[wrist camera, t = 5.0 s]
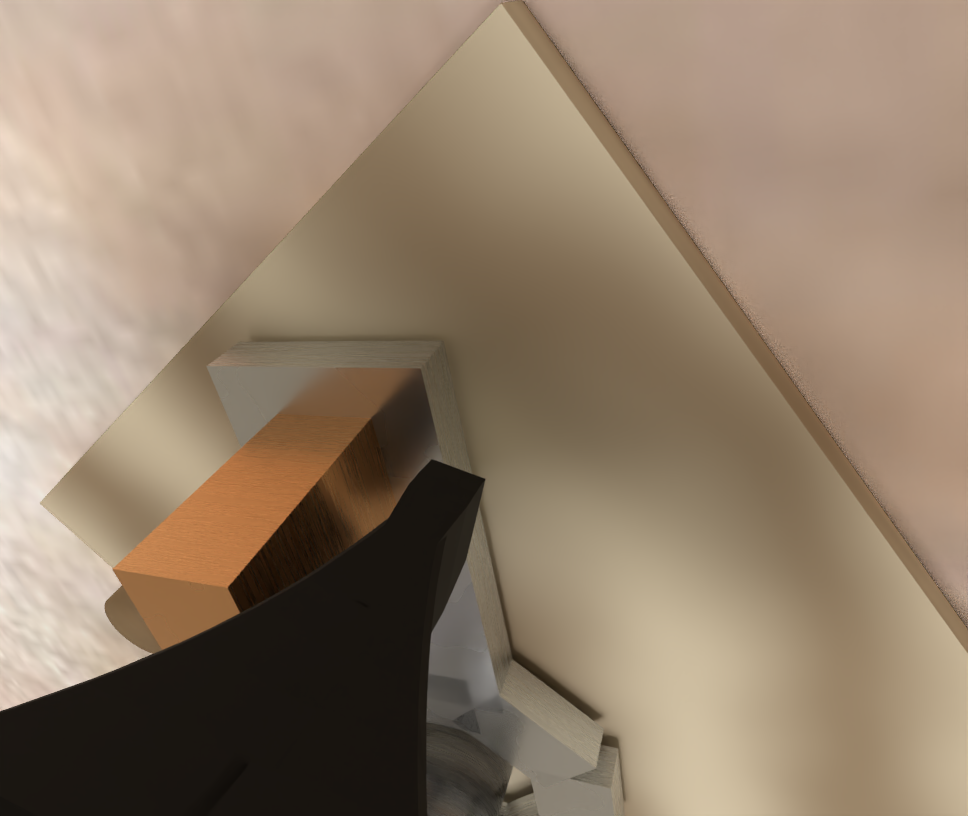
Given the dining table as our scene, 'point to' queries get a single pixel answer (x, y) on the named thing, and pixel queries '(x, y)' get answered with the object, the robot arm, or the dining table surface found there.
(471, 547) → the crank
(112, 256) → the dining table surface
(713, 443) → the board
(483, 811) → the post
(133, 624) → the dowel
